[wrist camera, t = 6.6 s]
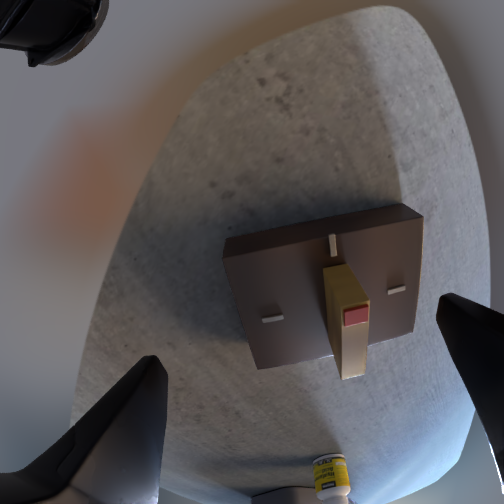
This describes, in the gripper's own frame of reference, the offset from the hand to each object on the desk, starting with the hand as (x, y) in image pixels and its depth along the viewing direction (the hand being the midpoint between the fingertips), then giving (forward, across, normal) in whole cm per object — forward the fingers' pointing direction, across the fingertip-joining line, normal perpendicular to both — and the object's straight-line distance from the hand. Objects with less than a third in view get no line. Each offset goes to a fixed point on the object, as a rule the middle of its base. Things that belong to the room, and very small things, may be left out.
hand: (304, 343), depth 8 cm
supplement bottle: (+12, -2, +42) cm, 44 cm away
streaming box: (+12, +7, +65) cm, 66 cm away
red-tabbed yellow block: (+9, -3, +6) cm, 11 cm away
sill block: (+12, -3, +6) cm, 14 cm away
